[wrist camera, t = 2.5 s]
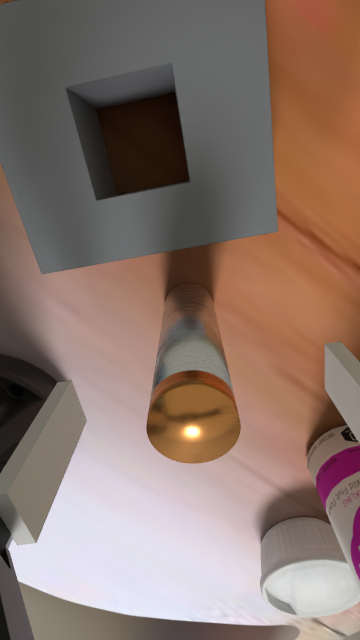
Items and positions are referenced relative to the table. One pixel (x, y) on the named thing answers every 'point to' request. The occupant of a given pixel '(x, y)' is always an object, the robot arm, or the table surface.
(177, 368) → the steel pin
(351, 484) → the supplement can
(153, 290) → the table surface
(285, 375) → the table surface
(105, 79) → the block
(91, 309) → the table surface
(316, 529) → the ramekin
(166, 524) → the table surface
